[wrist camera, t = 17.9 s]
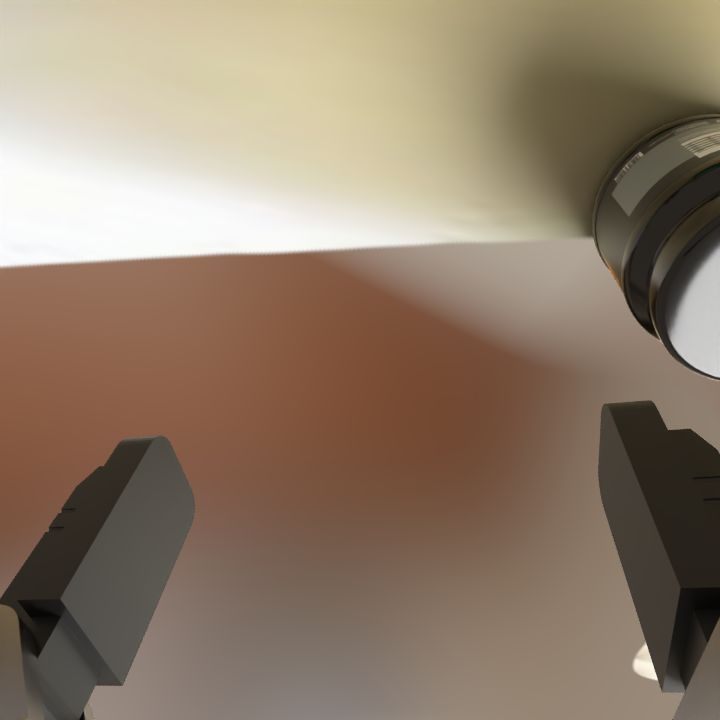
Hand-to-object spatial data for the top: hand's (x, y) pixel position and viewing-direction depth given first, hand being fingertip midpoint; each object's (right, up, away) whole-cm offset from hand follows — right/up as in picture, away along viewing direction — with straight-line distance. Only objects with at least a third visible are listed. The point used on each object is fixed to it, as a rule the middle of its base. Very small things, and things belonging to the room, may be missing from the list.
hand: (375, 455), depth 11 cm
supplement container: (+19, +11, +25) cm, 33 cm away
